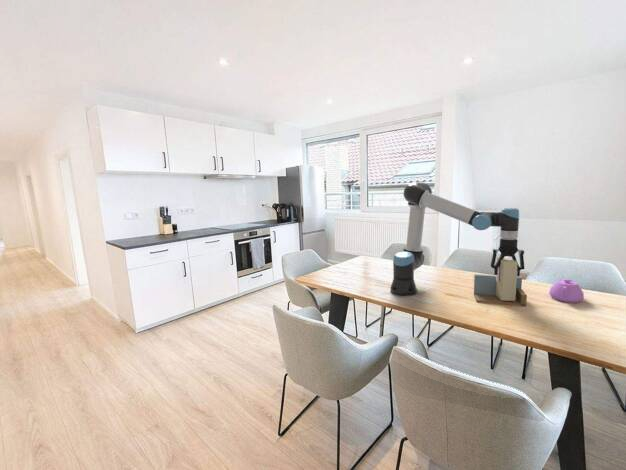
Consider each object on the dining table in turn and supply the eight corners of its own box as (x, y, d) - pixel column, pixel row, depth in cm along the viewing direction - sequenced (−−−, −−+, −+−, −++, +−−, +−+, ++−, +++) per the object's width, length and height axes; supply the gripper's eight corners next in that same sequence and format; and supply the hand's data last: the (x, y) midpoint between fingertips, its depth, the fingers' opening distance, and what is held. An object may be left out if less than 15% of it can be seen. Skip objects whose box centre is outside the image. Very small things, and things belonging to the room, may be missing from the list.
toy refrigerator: (517, 301, 150) (519, 261, 147) (501, 300, 151) (503, 261, 148) (510, 295, 157) (512, 257, 154) (495, 295, 159) (496, 257, 156)
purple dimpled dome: (585, 296, 157) (587, 277, 155) (581, 307, 143) (583, 286, 142) (552, 290, 167) (553, 272, 165) (546, 300, 153) (547, 281, 152)
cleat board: (476, 302, 155) (477, 280, 154) (473, 294, 166) (474, 274, 164) (526, 306, 147) (527, 283, 145) (519, 298, 158) (521, 276, 156)
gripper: (487, 239, 150) (485, 282, 153) (534, 240, 142) (531, 285, 146) (484, 236, 157) (483, 277, 160) (530, 237, 149) (527, 280, 153)
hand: (506, 281), depth 153 cm, fingers closed on toy refrigerator, 7 cm apart
